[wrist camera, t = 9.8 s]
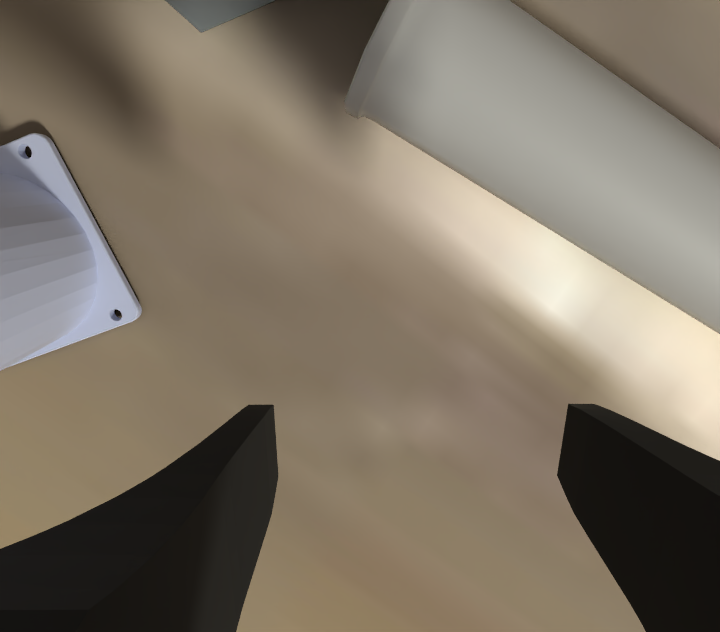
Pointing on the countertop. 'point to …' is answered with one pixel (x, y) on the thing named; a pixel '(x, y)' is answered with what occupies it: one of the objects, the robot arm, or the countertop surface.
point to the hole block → (214, 10)
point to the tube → (551, 139)
